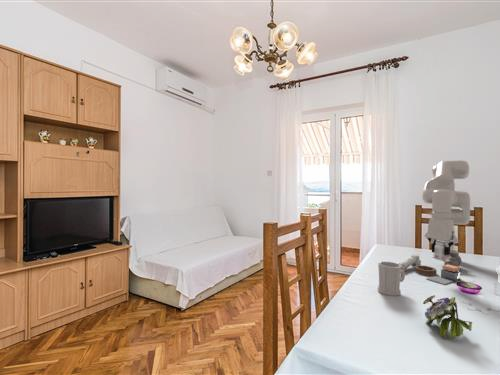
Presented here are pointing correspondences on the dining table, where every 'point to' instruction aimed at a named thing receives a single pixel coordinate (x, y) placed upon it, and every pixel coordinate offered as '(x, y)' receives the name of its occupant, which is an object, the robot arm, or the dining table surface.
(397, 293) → the cup
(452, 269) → the orange square block
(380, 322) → the dining table surface
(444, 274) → the block
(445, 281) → the mat
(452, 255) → the pipe fitting
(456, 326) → the passion flower
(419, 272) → the sleeve
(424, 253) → the dining table surface
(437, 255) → the pill bottle
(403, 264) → the white electric toothbrush
